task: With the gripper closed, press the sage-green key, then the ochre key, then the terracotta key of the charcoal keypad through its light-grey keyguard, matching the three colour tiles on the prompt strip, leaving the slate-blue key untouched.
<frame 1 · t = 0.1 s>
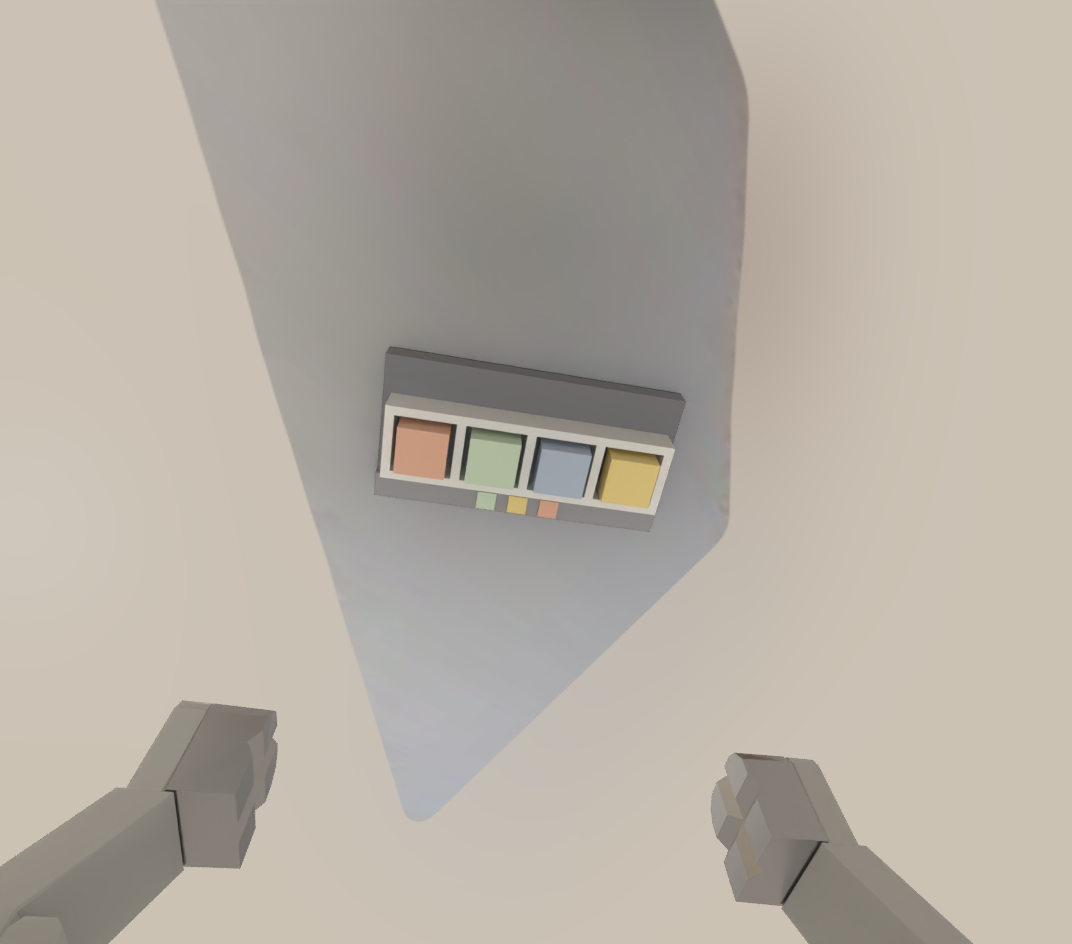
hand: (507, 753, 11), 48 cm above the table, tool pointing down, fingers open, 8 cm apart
key ochre: (627, 477, 57), point 5 cm above the table, slide at 0.0 cm
key terracotta: (422, 448, 55), point 5 cm above the table, slide at 0.0 cm
coloured button panel: (526, 439, 61), on the table
key sage: (492, 458, 56), point 5 cm above the table, slide at 0.0 cm
key slate: (561, 468, 57), point 5 cm above the table, slide at 0.0 cm
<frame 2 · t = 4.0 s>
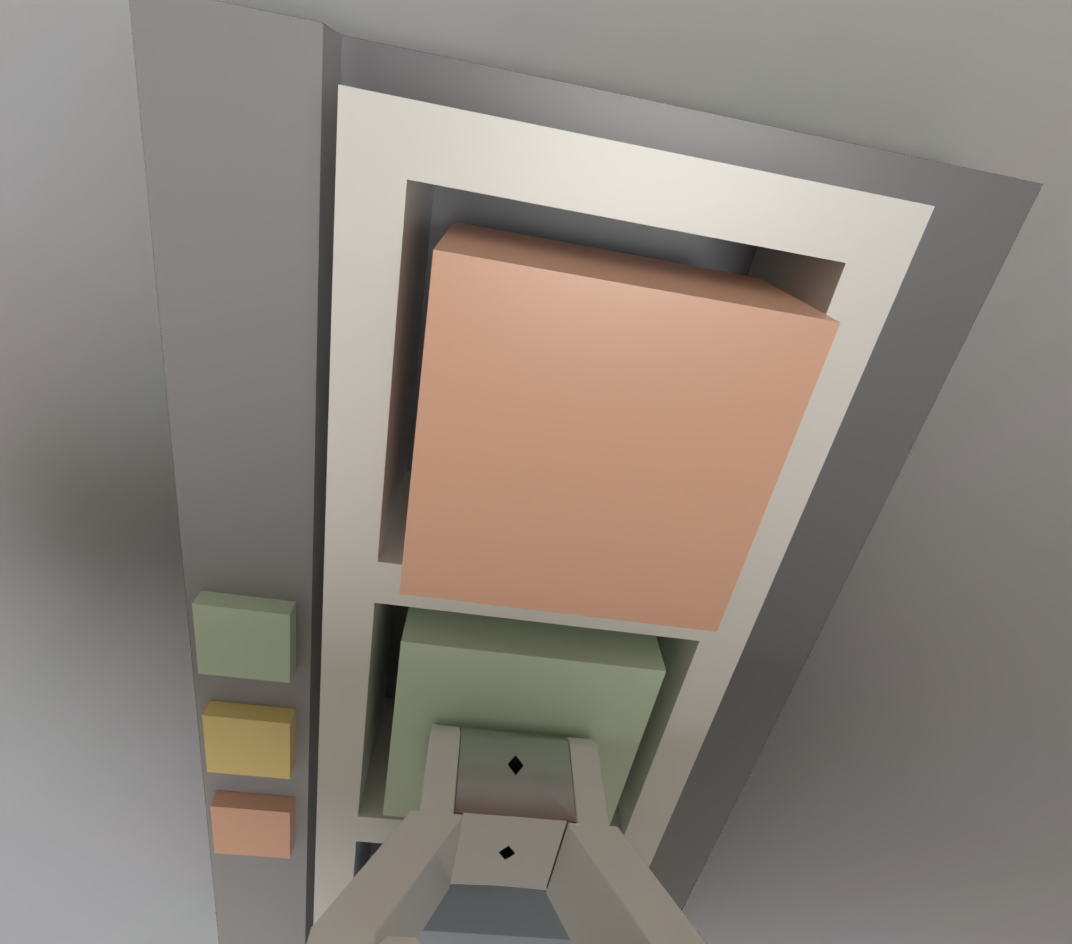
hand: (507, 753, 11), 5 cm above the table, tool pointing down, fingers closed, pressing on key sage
key terracotta: (587, 429, 9), point 5 cm above the table, slide at 0.0 cm
coloured button panel: (496, 661, 17), on the table
key sage: (514, 694, 12), point 4 cm above the table, slide at 1.0 cm, touching gripper
key slate: (471, 925, 14), point 5 cm above the table, slide at 0.0 cm
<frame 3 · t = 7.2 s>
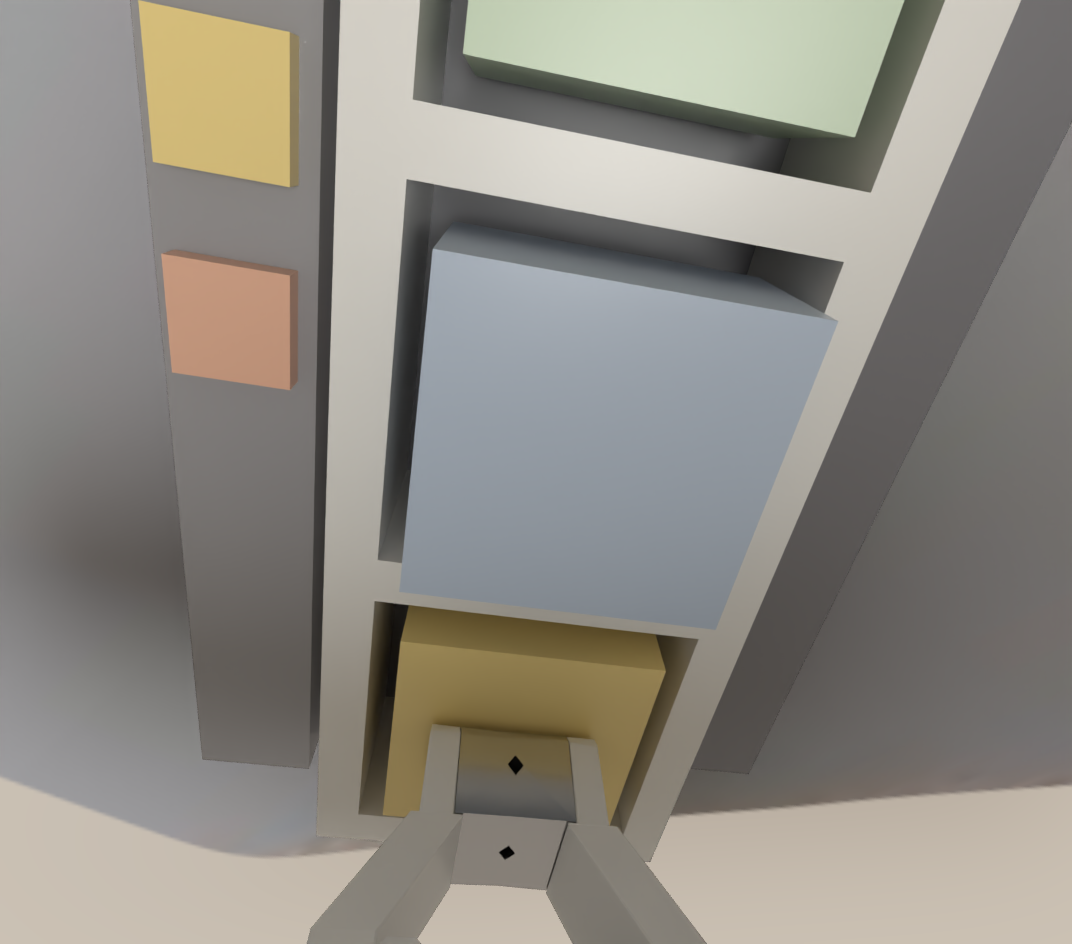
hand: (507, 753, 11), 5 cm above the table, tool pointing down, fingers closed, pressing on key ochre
key ochre: (514, 693, 12), point 4 cm above the table, slide at 1.0 cm, touching gripper
coloured button panel: (594, 169, 12), on the table
key slate: (586, 428, 9), point 5 cm above the table, slide at 0.0 cm
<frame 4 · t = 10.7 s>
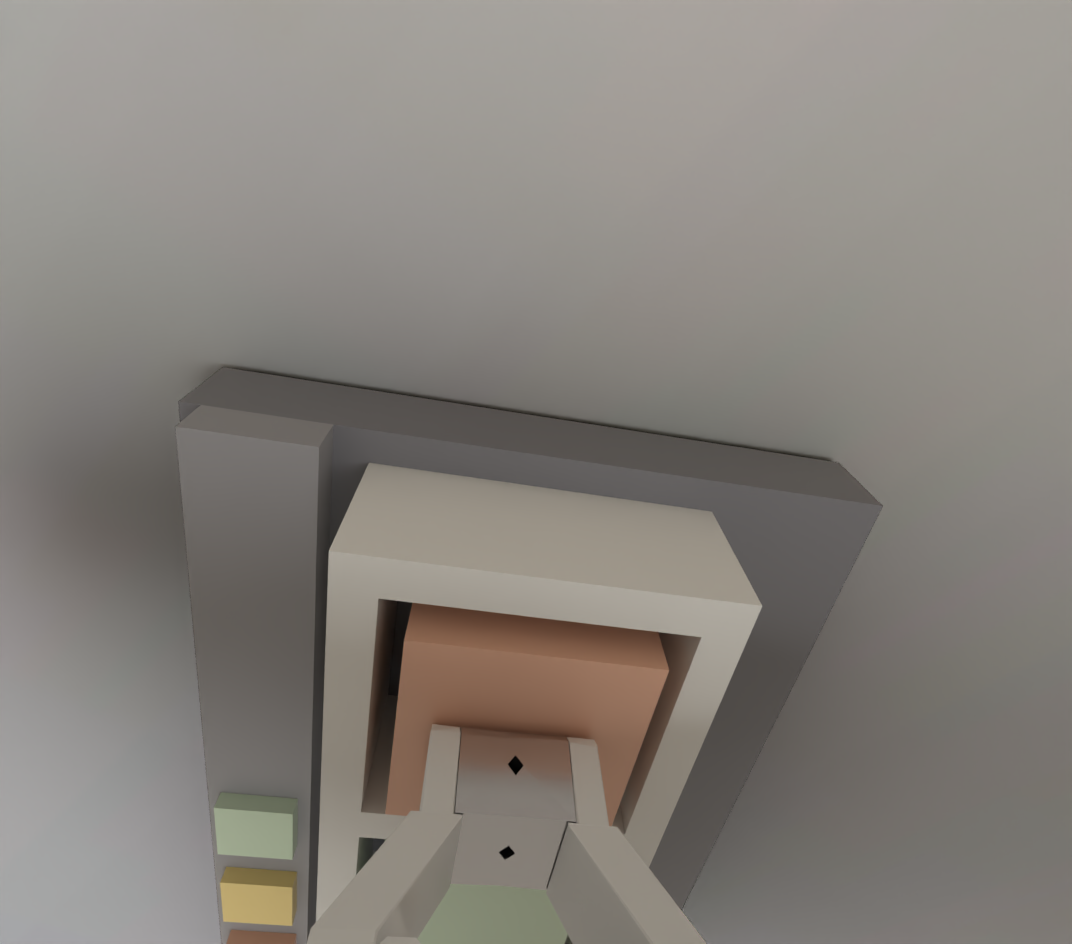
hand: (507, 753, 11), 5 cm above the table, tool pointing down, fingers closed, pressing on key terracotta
key terracotta: (517, 693, 12), point 4 cm above the table, slide at 1.0 cm, touching gripper
coloured button panel: (469, 802, 20), on the table
key sage: (475, 870, 15), point 4 cm above the table, slide at 1.1 cm
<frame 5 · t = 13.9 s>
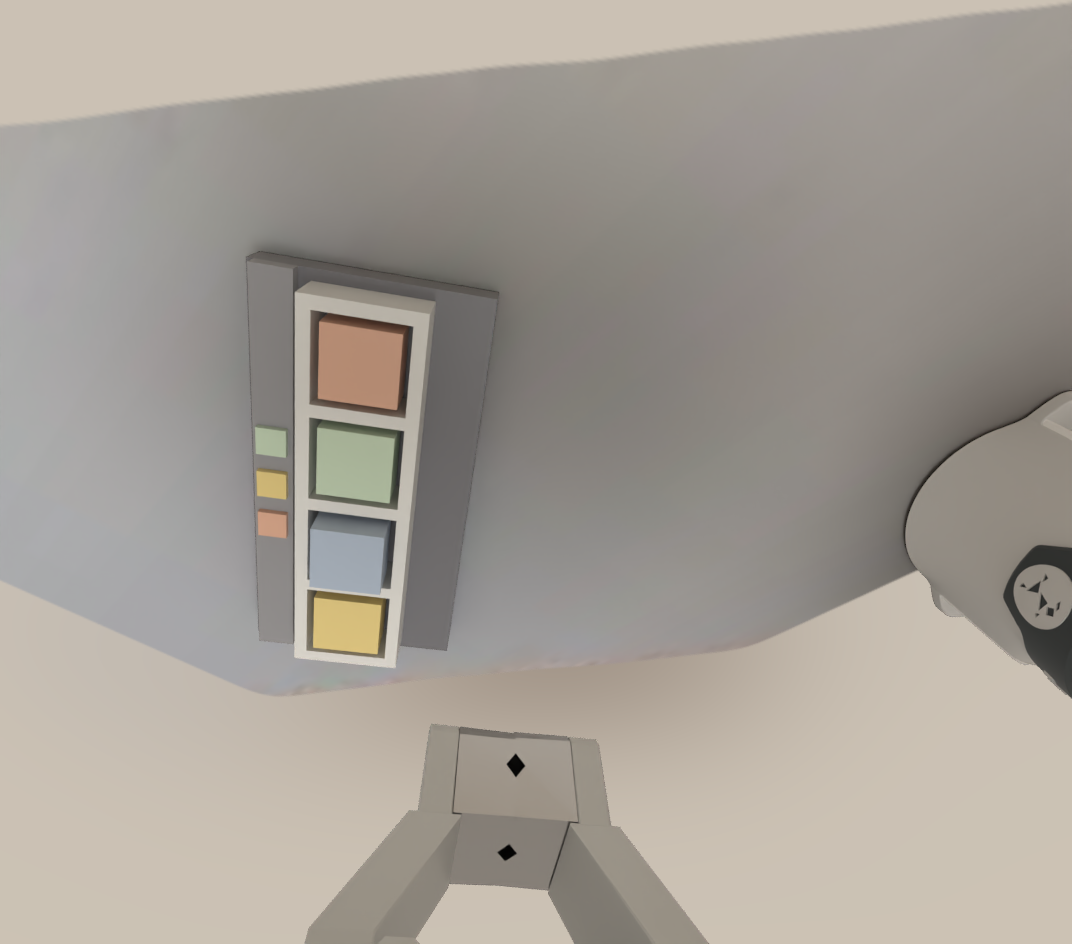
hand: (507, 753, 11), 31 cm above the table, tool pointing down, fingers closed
key ochre: (350, 614, 44), point 4 cm above the table, slide at 1.1 cm
key terracotta: (364, 360, 36), point 4 cm above the table, slide at 1.1 cm
coloured button panel: (369, 472, 43), on the table
key sage: (359, 457, 39), point 4 cm above the table, slide at 1.1 cm
key slate: (350, 551, 40), point 5 cm above the table, slide at 0.0 cm
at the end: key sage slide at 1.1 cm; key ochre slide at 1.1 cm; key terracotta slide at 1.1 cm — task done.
